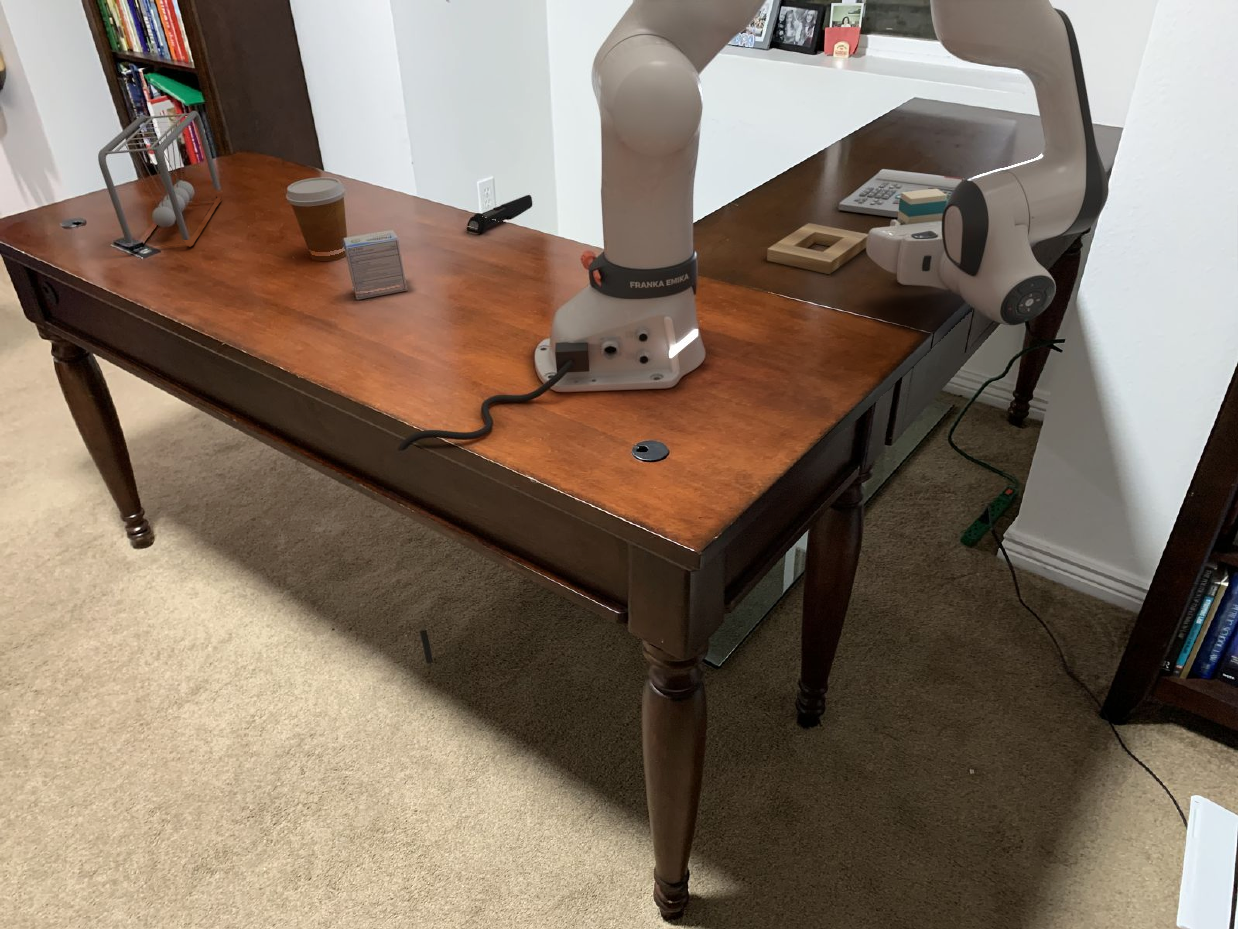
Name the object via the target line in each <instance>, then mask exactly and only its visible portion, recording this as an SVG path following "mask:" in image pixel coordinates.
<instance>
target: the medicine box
mask: <svg viewBox="0 0 1238 929" xmlns="http://www.w3.org/2000/svg"><path fill="white" fill-rule="evenodd" d="M343 244H344V249H345V253H346V256H345V259H346V263H347V268H348V271H349V276H350V280H351V284H353V285H352V288H353V287H354V288H353V292H354V295H355V297H356V300H357V301H359V300H363V299H369V298H373V297H380V296H384V295H390V294H395V293H401V292H406V291H408V285H407V280H406V275H405V270H404V265H403V264H404V262H403V258H402V254H401V247H400V241H399V238H398V237H397V235H396V233H395V231H394V230H392V229H390V230H383V231H377V232H371V233H365V234H359V235H353V236H347V238H344V239H343ZM401 284H406V286H401V287H395V288H390V289H385V290H379V291H374V292H368V293H363V294H357V295H356V293H355V292H360V291H370V290H374V289H378V288H387V287H391V286H396V285H401ZM354 290H355V291H354Z"/></svg>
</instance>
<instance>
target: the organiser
mask: <svg viewBox="0 0 1238 929" xmlns="http://www.w3.org/2000/svg"><path fill="white" fill-rule="evenodd" d="M867 237H868V233H863V232H858V231H853V230H847V229H842V228H836V227H831V226H825V225H820V224H815V223H810V222H808V223H806V224H805V225H803V226H801V227H800V228H798V229H797V230H795V231H794V232H792V233H790V234H789V235H787V236H785V237H784V238H782V239H780V240H779V241H777V242H776V243H774V244H772V245H771V246H770V247H768V248H767V250H766V261H767V262H771V263H776V264H780V265H785V266H789V267H794V268H799V269H804V270H809V271H813V272H817V273H821V274H826V275H831V274H832V273H833V272H835V271H836V270H837V269H839V268H840V267H841V266H843V265H844V264H845V263H847V262H849V261H850V260H851V259H853V258H854V257H855V256H857V255H858V254H859V253H861V252H862V251H863V250H866V245H867ZM814 244H816V245H821V246H827V247H828V248H826V249H825V250H824V251H819V250H815V249H810V248H809V247H811V246H812V245H814Z"/></svg>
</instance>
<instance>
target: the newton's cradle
mask: <svg viewBox="0 0 1238 929" xmlns="http://www.w3.org/2000/svg"><path fill="white" fill-rule="evenodd" d="M176 117H177V119H176V120H173V121H171V123H172V125H168V126H165V128H168V129H166V130H164V131H161V133H163V134H161V135H160V136H159V137H157V136H156V134H155V133H157V134H158V131H154V129H158V128H161V126H155V127H153V125H154V122H152V121H153V120H154V119H163V118H176ZM178 117H179V118H178ZM184 117H185V118H184ZM183 118H184V119H183ZM180 121H181V122H180ZM193 121H195V125H196V128H197V131H198V135H199V139H200V143H201V147H202V150H203V153H204V156H205V160H206V163H207V167H208V170H209V173H210V177H211V181H212V184H213V187H214V191H215V190H220V189H221V184H220V181H219V178H218V177H219V176H218V174H217V170H216V166H215V163H214V159H213V157H212V153H211V148H210V144H209V142H208V138H207V134H206V131H205V127H204V124H203V121H202V118H201V116H200V114H199V112H197V111H196V110H192V111H190V112H189V113H177V114H164V115H162V114H161V115H152V116H151V115H150V116H147V115H146V114H141V115H139V116H138V117H137V118H136V119H135V120H133V121H132V122H131V123H130V124H129V125H128V126H127V127H126V128H124V129H123V130H122V131H121V132H120V133H119V134H117V135H116V136H115V137H114V138H112V140H111V141H109V142H108V143H107V144H106V145H105V146H104V147H103V148H101V149H100V150H99V152H98V155H97V161H98V166H99V168H100V171H101V174H102V177H103V180H104V182H105V186H106V188H107V191H108V194H109V197H110V200H111V203H112V205H113V208H114V211H115V214H116V217H117V220H118V224H119V226H120V228H121V232H122V234H123V237H124V239H125V242H126V244H127V243H131V242H134V239H133V236H132V233H131V230H130V228H129V225H128V222H127V219H126V216H125V213H124V210H123V208H122V205H121V202H120V198H119V195H118V193H117V190H116V187H115V184H114V181H113V178H112V175H111V173H110V170H109V167H108V163H107V156H108V155H112V154H113V155H116V154H126V153H129V155H130V156H131V159H132V161H133V163H134V164H135V166H136V168H137V170H138V172H139V174H140V176H141V178H142V179H143V182H144V183H145V185H146V187H147V189H148V191H149V192H150V195H151V197H152V198H153V200H154V202H155V204H156V206H157V207H156V208H154V210H153V211H152V216H151V217H152V221H154V222H155V223H156V224H157V225H158V227H161V228H164V229H165V228H170V227H172V226H173V225H174V224H175V222H176V223H177V227H178V229H179V232H180V236H181V239H182V241H183V240H188V239H189V238H190V236H189V232H188V229H187V227H186V223H185V220H184V216H183V214H182V213H183V212H184V210H185V208H186V207H187V206H188V205H189V204H188V203H189V202H190V200H192V199H193V197H194V195H195V189H194V186H193V185H192V184H191V183H190V182H188V181H185V180H184V178H183V169H182V159H181V151H180V143H179V136H180V135H181V134H182V133H183V131H184V130H185V129H186V128H188V126H189V125H190V124H191V123H192V122H193ZM179 122H180V123H179ZM165 123H166V124H167V121H160V122H159V121H158V124H165ZM152 124H153V125H152ZM177 124H178V125H177ZM173 128H174V129H173ZM141 131H143V132H141ZM169 132H170V133H169ZM168 133H169V135H167V134H168ZM141 134H143V135H144V134H145V136H146V139H147V140H148V144H150V146H149V147H145V145H144V144H145V142H143V141H142V139H144V137H140V135H141ZM136 136H137V138H135V140H140V143H139V142H138V143H137V142H136V143H135V141H134V137H136ZM163 139H164V140H163ZM162 140H163V141H162ZM175 140H177V148H178V157H179V167H180V176H181V179H179V178H178V176H177V167H176V156H175V147H174V141H175ZM123 141H124V142H123ZM130 141H131V142H132V143H129V142H130ZM140 144H141V145H142V147H143V148H138V147H137V146H136V145H140ZM129 145H130V146H131V145H132V146H134V148H135V149H129V147H128V146H129ZM171 145H172V154H173V164H174V169H173V166H172V165H171V162H170V161H171V160H170V153H169V147H170V146H171ZM124 146H125V147H126V149H123V150H121V149H122V148H123V147H124ZM166 150H167V155H166V154H165V151H166ZM151 151H152V152H153V155H154V158H155V161H156V165H155V164H154V162H153V160H152V158H151V156H150V154H149V152H151ZM135 152H136V153H138V155H139V157H140V159H141V161H142V163H143V165H144V167H145V168H146V171H147V172H148V174H149V176H150V178H151V180H152V181H153V184H154V185H155V187H156V189H157V191H158V193H159V195H160V199H161V200H160V202H159V203H158V202H157V200H156V198H155V196H154V195H153V192H152V191H151V189H150V187H149V185H148V184H147V181H146V179H145V177H144V176H143V173H142V172H141V170H140V168H139V167H138V166H139V165H137V163H136V160H135V158H134V157H133V155H132V153H135ZM140 152H146V154H147V156H148V158H149V160H150V161H151V164H152V165H153V168H154V169H155V172H156V174H157V176H158V182H159V188H158V186H157V183H156V182H155V180H154V177H153V176H152V174H151V172H150V170H149V168H148V167H147V165H146V163H145V161H144V159H143V157H142V155H141V153H140ZM166 161H167V162H166ZM167 163H168V165H167ZM156 166H157V167H156ZM168 167H169V169H168ZM171 171H172V172H173V174H174V175H175V181H176V183H175V184H174V185H173V180H172V172H171ZM161 183H162V184H163V186H164V190H165V193H166V195H165V196H164V197H163V193H162V185H161ZM221 190H222V189H221Z"/></svg>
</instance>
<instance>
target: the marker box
mask: <svg viewBox="0 0 1238 929" xmlns="http://www.w3.org/2000/svg"><path fill="white" fill-rule="evenodd" d="M946 200H947V195H946V194H945V193H943V192H941V191H940V190H938V189H928V190H919V191H909V192H901V197H900V201H899V209H898V210H899V213H898V217H897V220H898V219H902V220H903V221H904V222H905V225H908V224H917V223H926V222H936V221H942V216H943V212H944V209H945V206H946V204H947V201H946Z"/></svg>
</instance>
